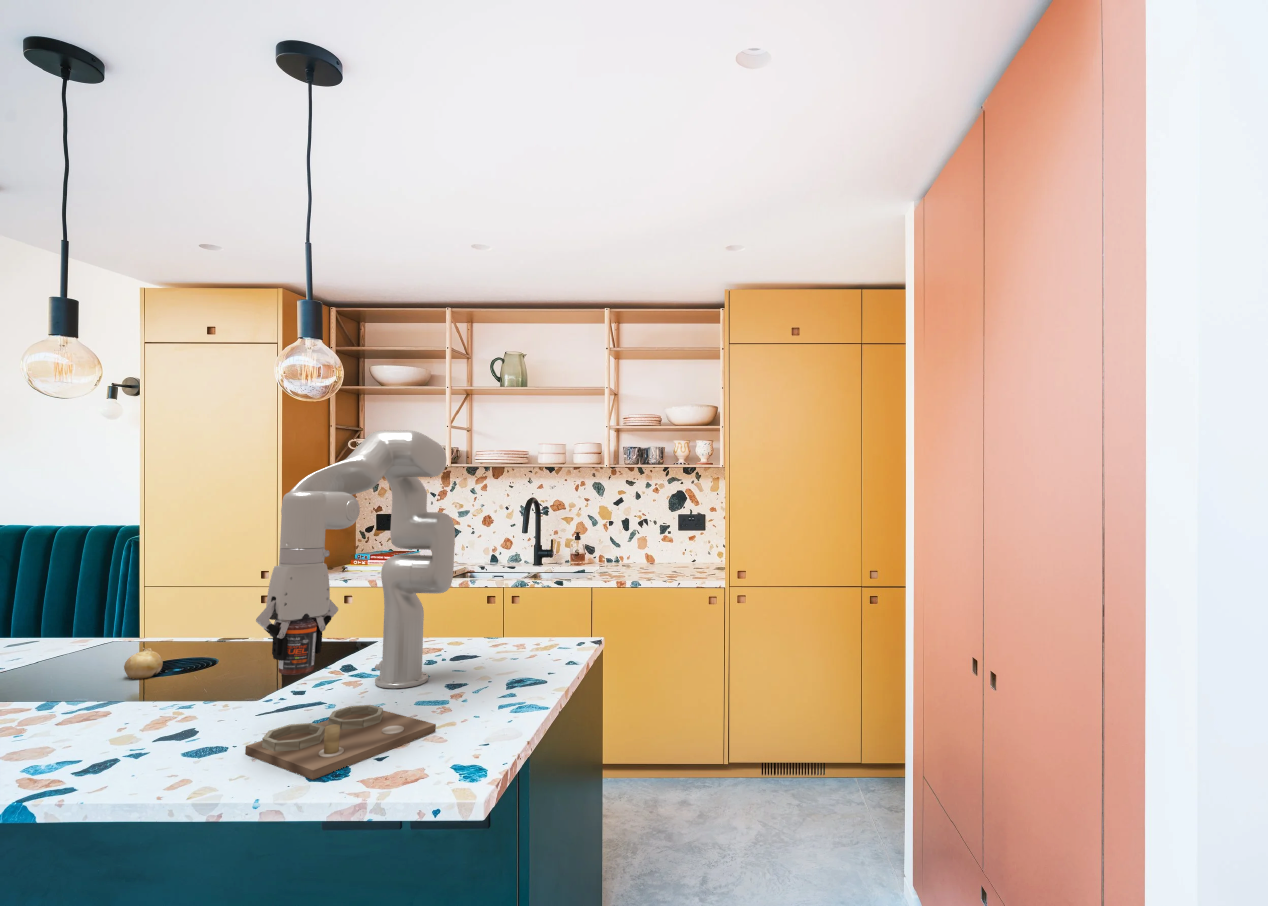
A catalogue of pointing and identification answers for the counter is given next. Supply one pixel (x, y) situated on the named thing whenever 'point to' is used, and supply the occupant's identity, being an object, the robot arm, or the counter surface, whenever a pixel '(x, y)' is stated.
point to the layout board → (346, 741)
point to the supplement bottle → (300, 647)
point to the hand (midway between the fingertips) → (297, 655)
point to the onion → (143, 664)
